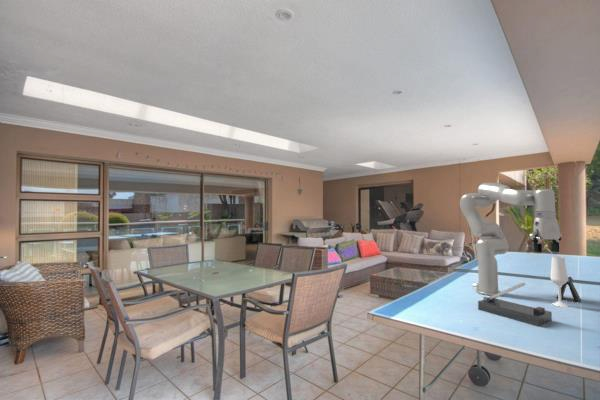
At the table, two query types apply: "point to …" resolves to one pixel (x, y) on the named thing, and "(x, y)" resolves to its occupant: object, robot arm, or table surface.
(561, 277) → the champagne flute
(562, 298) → the phone stand
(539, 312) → the block
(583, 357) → the table surface
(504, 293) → the strap
